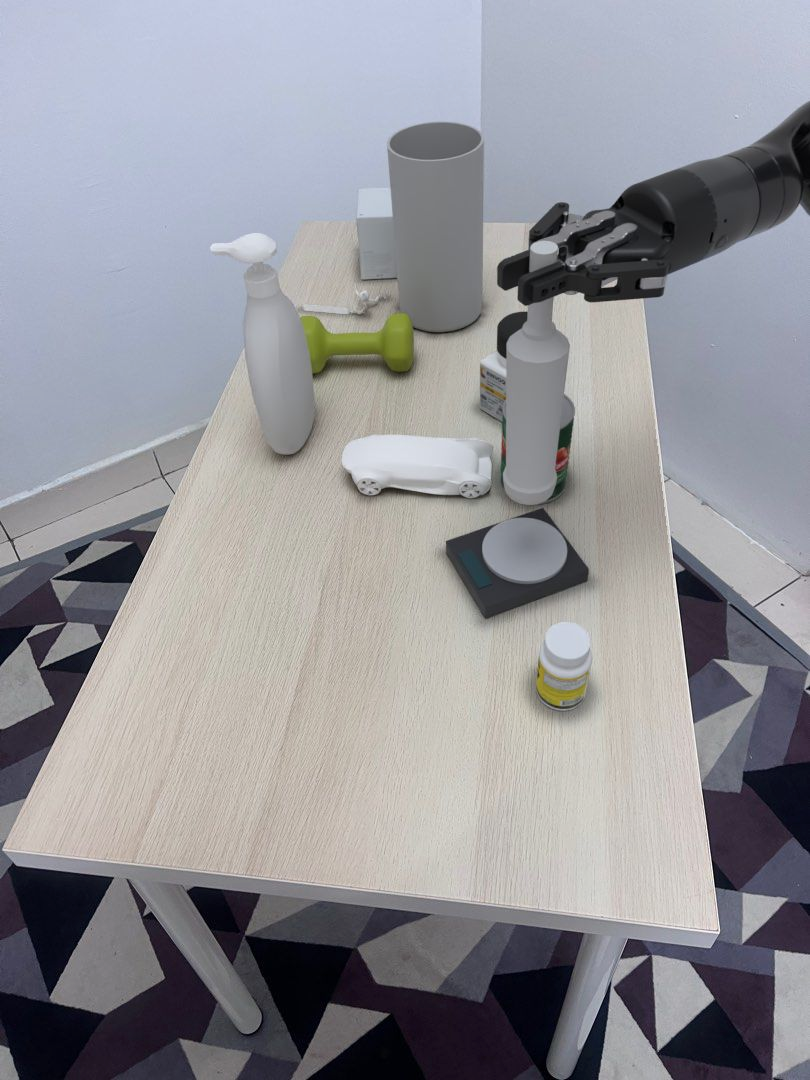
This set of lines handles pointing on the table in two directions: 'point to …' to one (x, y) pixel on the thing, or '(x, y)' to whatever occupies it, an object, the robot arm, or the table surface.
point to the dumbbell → (362, 342)
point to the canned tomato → (562, 449)
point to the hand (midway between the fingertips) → (511, 284)
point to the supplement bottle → (564, 666)
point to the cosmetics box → (376, 233)
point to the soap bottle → (273, 348)
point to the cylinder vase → (438, 222)
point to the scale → (516, 562)
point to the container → (498, 366)
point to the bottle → (534, 395)
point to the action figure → (340, 310)
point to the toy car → (420, 464)
